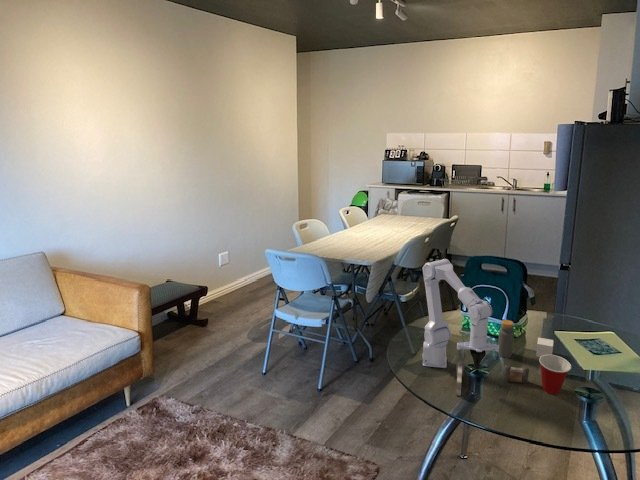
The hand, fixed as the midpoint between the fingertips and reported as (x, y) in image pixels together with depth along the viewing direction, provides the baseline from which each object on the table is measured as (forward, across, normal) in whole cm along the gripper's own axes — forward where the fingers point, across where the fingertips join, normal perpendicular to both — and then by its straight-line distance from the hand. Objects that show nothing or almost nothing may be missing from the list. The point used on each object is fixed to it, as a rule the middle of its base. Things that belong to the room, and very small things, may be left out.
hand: (476, 366), depth 184 cm
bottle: (+10, +16, +27) cm, 33 cm away
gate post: (+9, -4, +9) cm, 14 cm away
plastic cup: (+10, +28, +2) cm, 30 cm away
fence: (+9, +16, +7) cm, 20 cm away
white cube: (+10, +32, +29) cm, 44 cm away
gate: (+9, -6, +1) cm, 11 cm away
